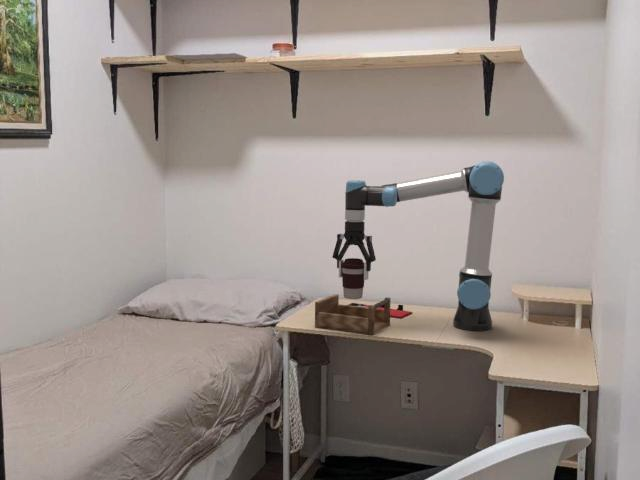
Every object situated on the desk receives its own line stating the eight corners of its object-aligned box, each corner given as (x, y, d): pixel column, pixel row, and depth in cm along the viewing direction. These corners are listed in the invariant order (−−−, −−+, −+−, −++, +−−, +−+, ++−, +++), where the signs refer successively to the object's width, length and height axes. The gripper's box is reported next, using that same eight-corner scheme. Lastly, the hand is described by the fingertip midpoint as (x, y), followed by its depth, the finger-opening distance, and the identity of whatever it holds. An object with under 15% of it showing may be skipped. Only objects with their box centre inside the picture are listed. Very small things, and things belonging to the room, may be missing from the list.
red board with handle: (354, 303, 314) (337, 310, 301) (354, 297, 313) (337, 304, 301) (415, 313, 298) (400, 320, 286) (416, 307, 298) (401, 314, 285)
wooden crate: (389, 325, 274) (390, 297, 273) (372, 335, 258) (372, 306, 257) (334, 318, 285) (335, 291, 284) (314, 327, 269) (315, 299, 268)
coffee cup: (365, 300, 265) (366, 261, 263) (339, 299, 266) (340, 260, 264) (366, 295, 275) (367, 257, 273) (341, 294, 276) (341, 257, 274)
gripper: (385, 221, 265) (384, 279, 268) (332, 218, 275) (331, 274, 278) (378, 223, 258) (376, 282, 261) (324, 219, 268) (323, 276, 271)
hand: (353, 278), depth 269 cm, fingers closed on coffee cup, 10 cm apart
